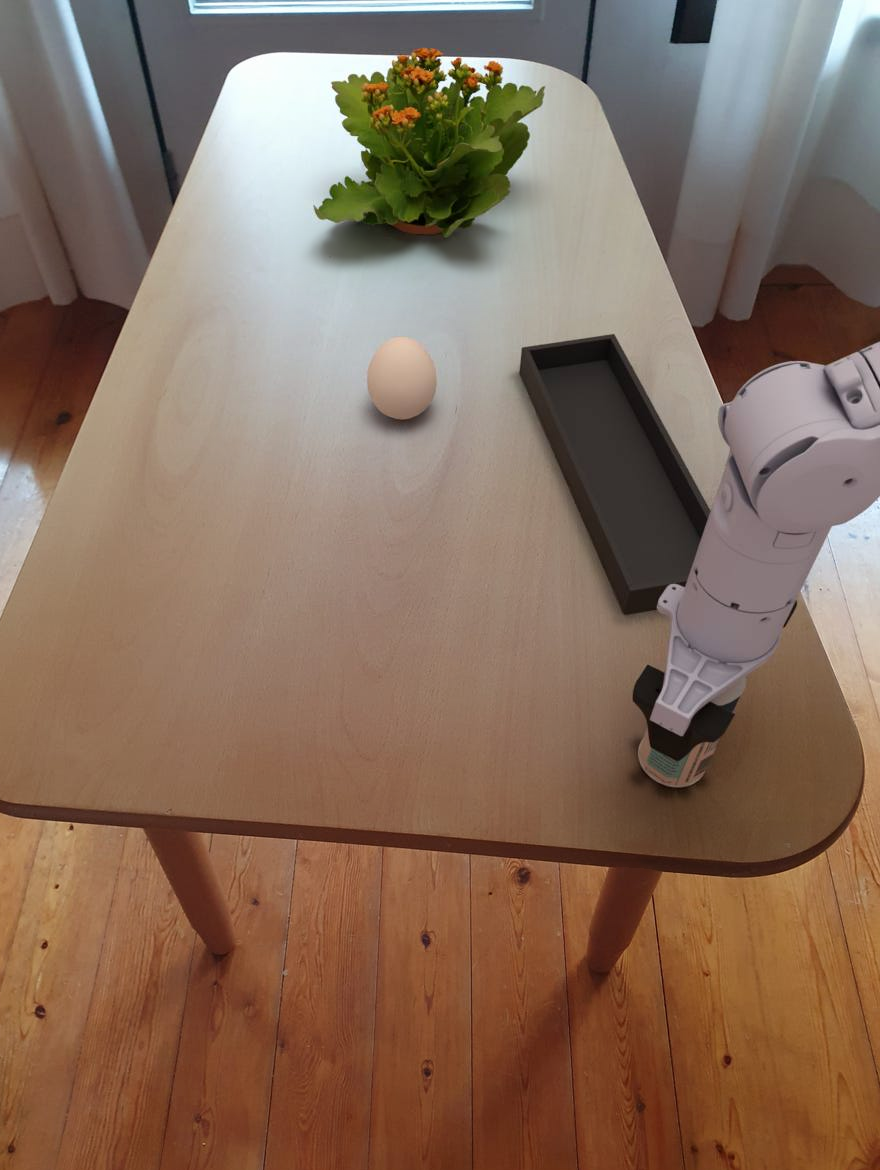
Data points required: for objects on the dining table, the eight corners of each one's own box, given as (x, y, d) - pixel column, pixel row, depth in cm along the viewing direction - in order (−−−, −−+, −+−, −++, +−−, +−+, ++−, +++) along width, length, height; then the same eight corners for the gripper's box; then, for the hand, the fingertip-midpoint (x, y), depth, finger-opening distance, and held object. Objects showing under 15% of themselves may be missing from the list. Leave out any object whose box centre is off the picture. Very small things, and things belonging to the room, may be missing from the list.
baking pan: (733, 595, 78) (743, 571, 76) (623, 615, 77) (630, 590, 75) (609, 359, 96) (614, 333, 93) (519, 372, 95) (521, 347, 93)
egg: (392, 382, 95) (389, 311, 88) (449, 404, 92) (450, 333, 86) (355, 420, 91) (350, 349, 85) (413, 444, 89) (412, 373, 83)
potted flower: (343, 152, 121) (332, -7, 107) (536, 158, 119) (550, -3, 105) (313, 269, 106) (296, 103, 92) (532, 277, 104) (549, 109, 90)
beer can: (702, 734, 70) (746, 634, 61) (708, 793, 68) (755, 699, 58) (635, 729, 71) (668, 629, 61) (638, 787, 68) (673, 693, 58)
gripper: (732, 465, 58) (682, 608, 68) (618, 628, 51) (584, 758, 61) (849, 513, 55) (779, 653, 66) (747, 691, 48) (687, 815, 59)
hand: (691, 707), depth 64 cm, fingers open, 7 cm apart
